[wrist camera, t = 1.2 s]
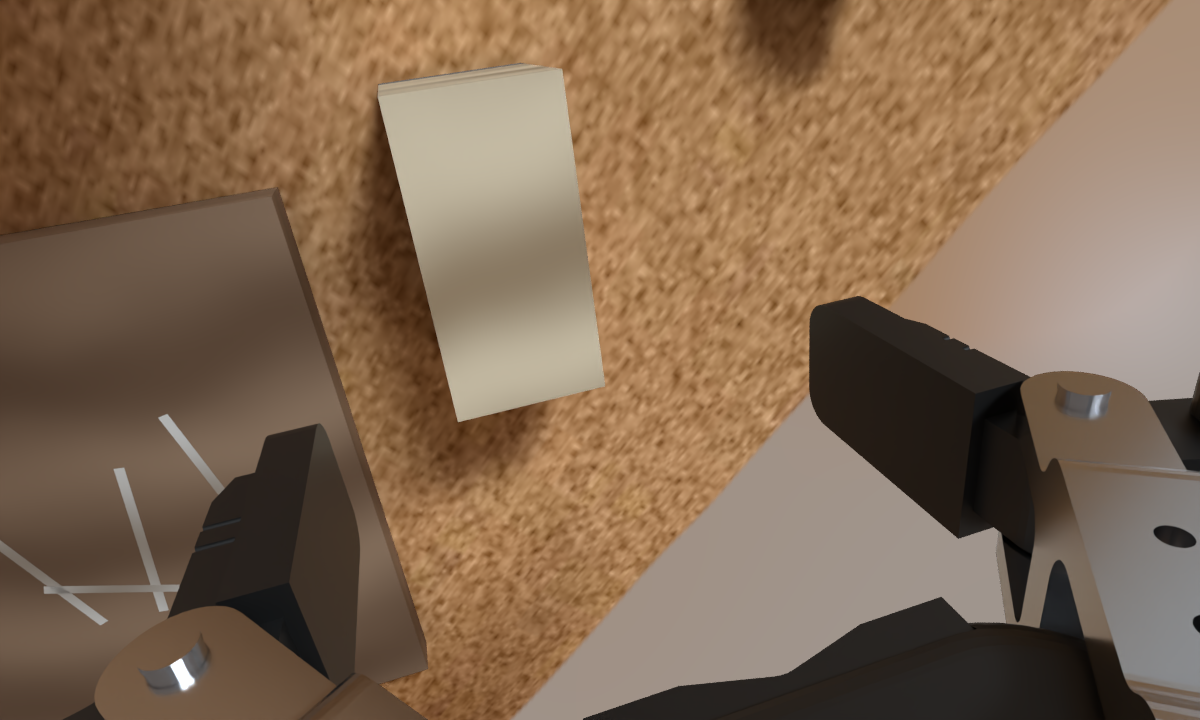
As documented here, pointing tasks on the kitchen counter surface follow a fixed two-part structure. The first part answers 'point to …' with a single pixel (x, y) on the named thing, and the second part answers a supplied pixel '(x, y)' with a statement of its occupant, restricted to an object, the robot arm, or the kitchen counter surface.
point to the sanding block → (497, 232)
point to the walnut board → (157, 432)
